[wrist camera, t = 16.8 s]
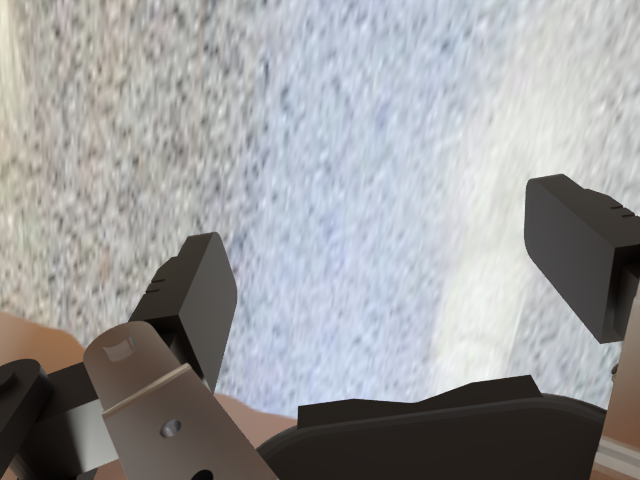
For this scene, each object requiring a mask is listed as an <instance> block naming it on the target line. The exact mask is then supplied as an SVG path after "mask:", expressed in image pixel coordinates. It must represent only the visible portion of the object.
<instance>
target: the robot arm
mask: <svg viewBox="0 0 640 480" xmlns="http://www.w3.org/2000/svg"><path fill="white" fill-rule="evenodd" d="M524 240H525V246H526V249H527V252H528V254H529V256H530V258H531V259H532V261H533V262H534V263H535V264H536V265H537V267H538V268H539V269H540V270H541V272H542V273H543V274H544V275H545V277H546V278H547V279H548V280H549V281H550V283H551V284H552V285H553V286H554V288H555V289H556V290H557V291H558V293H559V294H560V295H561V296H562V298H563V299H564V300H565V301H566V302H567V304H568V305H569V306H570V307H571V309H572V310H573V311H574V312H575V314H576V315H577V316H578V317H579V318H580V320H581V321H582V322H583V323H584V325H585V326H586V327H587V328H588V330H589V331H590V332H591V333H592V334H593V336H594V337H595V338H596V339H597V341H598V342H599V343H600V344H603V343H611V342H618V341H624V342H623V347H622V351H621V355H620V359H619V363H618V368H617V372H616V376H615V380H614V384H613V389H612V393H611V397H610V401H609V405H608V410H605V409H603V408H600V407H598V406H596V405H593V404H590V403H587V402H584V401H581V400H577V399H573V398H570V397H566V396H560V395H554V394H547V393H541V392H540V391H539V389H538V387H537V385H536V384H535V382H534V380H533V378H532V376H531V375H525V376H517V377H510V378H503V379H495V380H488V381H480V382H473V383H469V384H467V385H464V386H461V387H459V388H456V389H453V390H450V391H448V392H445V393H442V394H439V395H437V396H434V397H431V398H429V399H426V400H423V401H420V402H416V403H403V402H390V401H377V400H364V399H348V400H340V401H333V402H325V403H318V404H311V405H303V406H298V423H297V425H296V426H293V427H291V428H288V429H286V430H284V431H282V432H280V433H278V434H277V435H275V436H273V437H272V438H270V439H269V440H267V441H265V442H264V443H263V444H261V445H260V446H259V447H258V448H256V449H255V448H254V447H253V446H252V444H251V443H250V442H249V440H248V439H247V438H246V437H245V435H244V434H243V433H242V432H241V430H240V429H239V428H238V426H237V425H236V424H235V423H234V421H233V420H232V419H231V417H230V416H229V415H228V414H227V412H226V411H225V410H224V409H223V407H222V406H221V405H220V404H219V402H218V401H217V400H216V398H215V397H214V396H213V394H214V391H215V387H216V383H217V379H218V375H219V371H220V367H221V363H222V359H223V355H224V351H225V347H226V344H227V340H228V336H229V332H230V328H231V324H232V320H233V316H234V312H235V308H236V304H237V287H236V282H235V279H234V276H233V273H232V270H231V267H230V264H229V261H228V258H227V255H226V252H225V249H224V246H223V243H222V240H221V237H220V236H219V234H218V233H217V232H211V233H205V234H200V235H194V236H188V237H187V239H186V241H185V243H184V244H183V246H182V248H181V250H180V252H179V254H178V256H176V257H171V258H170V259H169V260H168V261H167V262H166V263H165V264H163V265H162V266H161V267H160V268H159V269H158V270H157V272H156V274H155V276H154V277H153V279H152V281H151V284H149V286H148V288H147V290H146V291H145V292H146V294H144V295H143V296H142V298H141V300H140V302H139V303H138V305H137V307H136V309H135V310H134V312H133V314H132V316H131V317H130V319H129V321H128V322H127V323H124V324H120V325H118V326H115V327H113V328H111V329H109V330H107V331H106V332H104V333H102V334H101V335H100V336H98V337H97V338H96V339H95V340H94V341H93V342H92V343H91V344H90V345H89V346H88V347H87V349H86V350H85V352H84V355H83V362H81V363H78V364H75V365H72V366H70V367H67V368H64V369H62V370H59V371H56V372H53V373H50V374H48V375H47V374H46V373H45V371H44V370H43V368H42V367H41V365H40V364H39V363H38V361H36V360H33V359H21V360H16V361H13V362H10V363H7V364H5V365H2V366H0V479H1V478H2V476H3V475H4V473H5V471H6V469H7V468H8V466H9V467H10V469H11V470H12V471H13V472H14V474H15V475H16V476H17V477H18V478H17V480H93V479H94V476H95V474H96V472H97V469H98V467H99V466H101V465H103V464H106V463H108V462H111V461H113V460H116V459H118V458H119V460H120V462H121V464H122V467H123V469H124V472H125V474H126V476H127V479H128V480H640V217H639V216H635V214H634V213H633V212H632V211H630V210H629V209H627V208H626V207H625V208H623V205H621V204H620V203H619V202H617V201H616V200H614V199H613V198H611V197H610V196H608V195H605V194H602V193H599V192H596V191H593V190H590V189H583V188H582V187H581V186H579V185H578V184H577V183H575V182H574V181H573V180H571V179H570V178H568V177H567V176H566V175H564V174H557V175H551V176H545V177H539V178H533V179H530V180H529V181H528V183H527V186H526V198H525V223H524Z"/></svg>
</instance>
